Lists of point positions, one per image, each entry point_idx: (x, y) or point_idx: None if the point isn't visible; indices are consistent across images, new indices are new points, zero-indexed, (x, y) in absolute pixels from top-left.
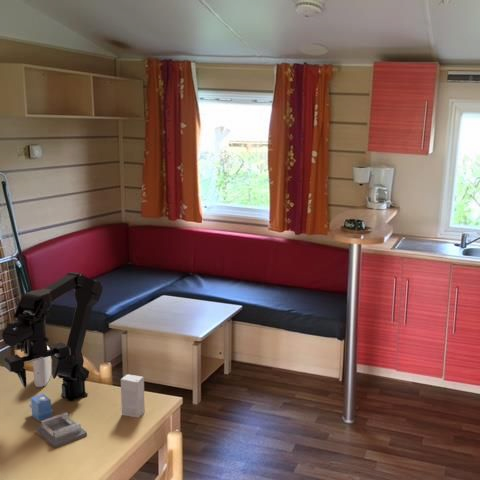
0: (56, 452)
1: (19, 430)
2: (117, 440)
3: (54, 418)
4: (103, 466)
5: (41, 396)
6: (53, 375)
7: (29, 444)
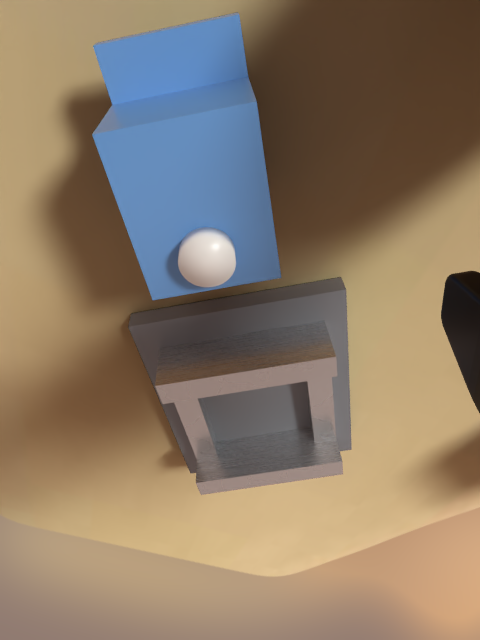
0: (191, 479)
1: (27, 261)
2: (422, 492)
3: (240, 391)
4: (303, 561)
5: (216, 165)
6: (467, 345)
7: (86, 403)
